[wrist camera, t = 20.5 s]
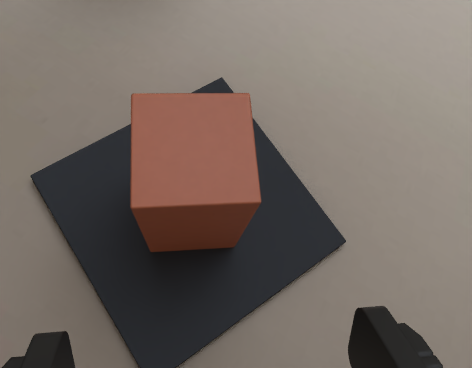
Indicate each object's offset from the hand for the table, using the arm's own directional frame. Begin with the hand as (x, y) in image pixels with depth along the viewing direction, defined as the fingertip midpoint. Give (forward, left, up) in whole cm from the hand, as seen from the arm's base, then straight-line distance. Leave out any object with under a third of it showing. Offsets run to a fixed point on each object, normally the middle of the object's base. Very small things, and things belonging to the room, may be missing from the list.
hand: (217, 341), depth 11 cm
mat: (+6, -3, -12) cm, 14 cm away
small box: (+6, -3, -12) cm, 14 cm away
